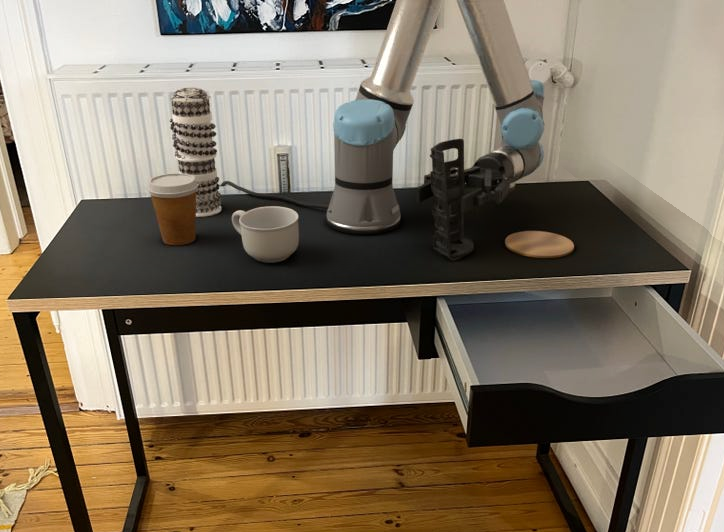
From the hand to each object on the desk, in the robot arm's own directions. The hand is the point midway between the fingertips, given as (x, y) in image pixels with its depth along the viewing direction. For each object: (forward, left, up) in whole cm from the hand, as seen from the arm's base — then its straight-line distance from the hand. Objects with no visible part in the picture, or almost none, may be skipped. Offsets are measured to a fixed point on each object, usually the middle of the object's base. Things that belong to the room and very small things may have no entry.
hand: (440, 200), depth 137 cm
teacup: (-27, -17, -11) cm, 34 cm away
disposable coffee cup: (-46, -21, -11) cm, 52 cm away
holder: (0, +5, -11) cm, 12 cm away
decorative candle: (-55, -6, -11) cm, 56 cm away
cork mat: (+13, +17, -11) cm, 24 cm away
